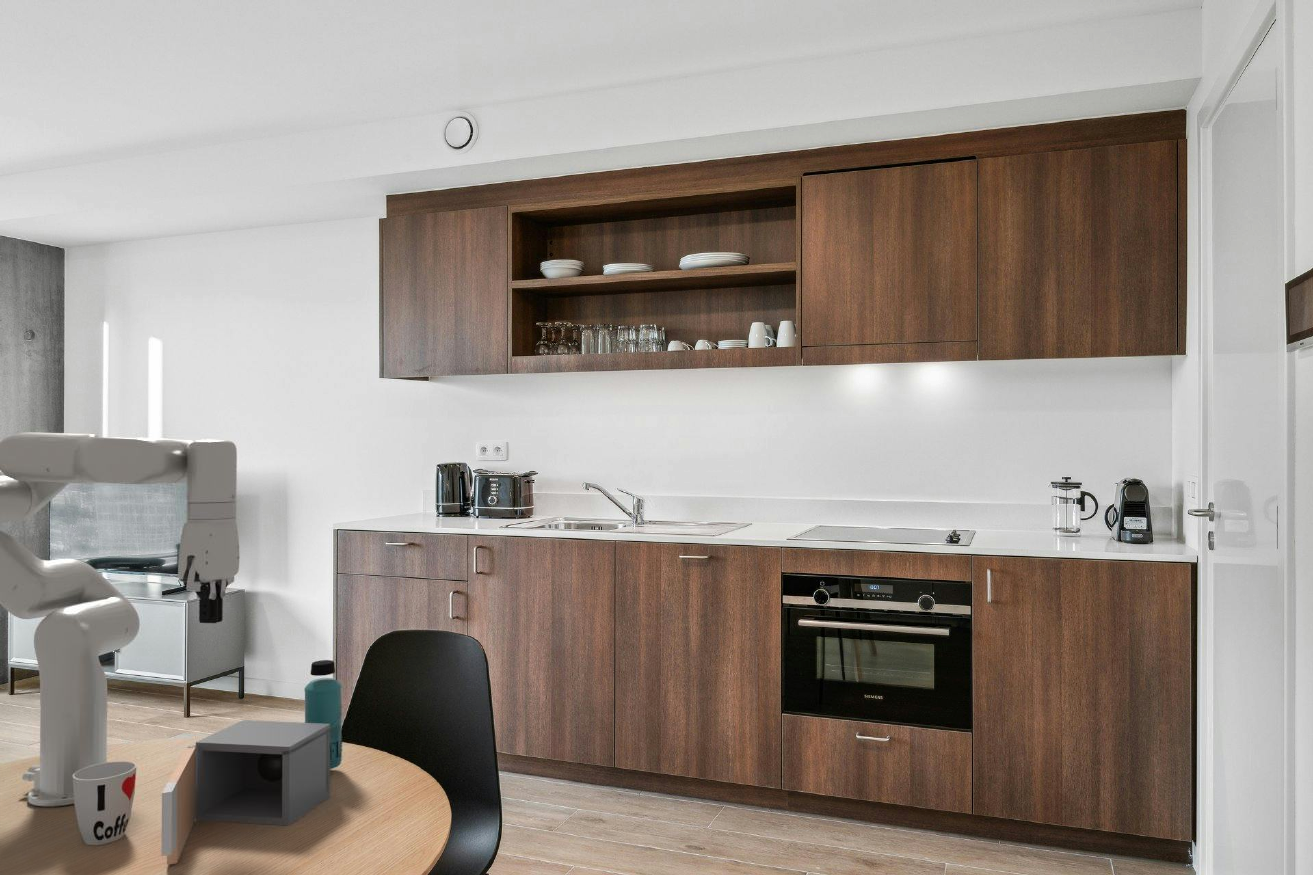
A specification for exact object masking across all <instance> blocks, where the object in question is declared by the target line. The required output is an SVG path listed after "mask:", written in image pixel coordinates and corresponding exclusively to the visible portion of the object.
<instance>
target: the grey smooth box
mask: <svg viewBox="0 0 1313 875" xmlns="http://www.w3.org/2000/svg"><path fill="white" fill-rule="evenodd" d="M195 746H196V819H195V821H197V820H198V821H212V822H213V821H214V822H228V823H243V824H255V825H257V824H259V825H274V826H275V825H276V826H291V825H292V824H294V823H295V822H297V821H299V819H300V818H302V817H303V816H305V815H306V814H308V812H310V811H312V810H313V809H314V808H316V807H317V806H319V805H321V804H322V803H323V802H324V801H325V800H327V799H328V798H330V797H331V769H330V724H321V723H305V722H298V721H297V722H294V721H272V720H271V721H270V720H251V719H250V720H249V719H248V720H247V719H242V720H240V721H238V722H237V723H234V724H231V725H229V726H227V727H225V728H223V729H221V730H218V731H216V732H215V733H213V734H210V735H208V736H206V737H204V738H202V739H200V740H198V741H196V742H195Z"/></svg>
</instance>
